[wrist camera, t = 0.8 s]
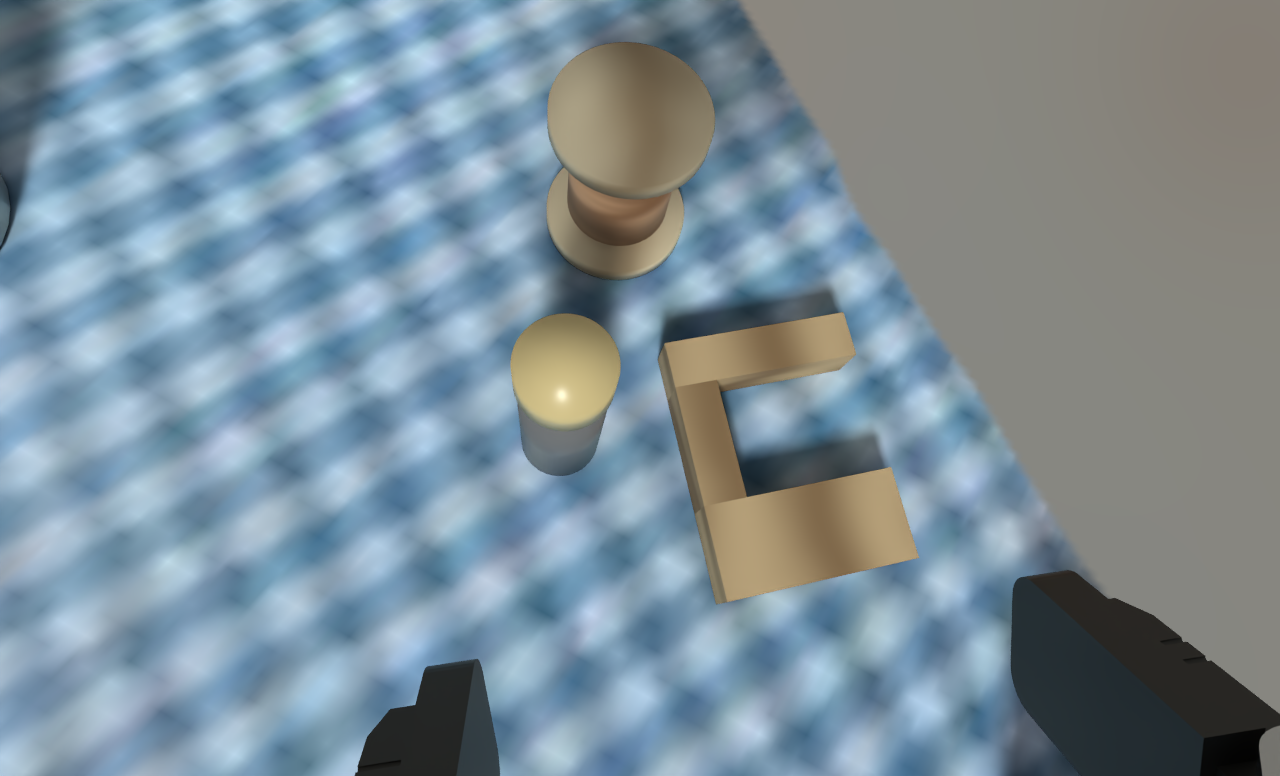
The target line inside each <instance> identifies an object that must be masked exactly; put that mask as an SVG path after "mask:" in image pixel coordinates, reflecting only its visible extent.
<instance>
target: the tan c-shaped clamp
mask: <svg viewBox="0 0 1280 776" xmlns="http://www.w3.org/2000/svg"><path fill="white" fill-rule="evenodd" d="M855 355H856V352H855V349H854V345H853V342H852V339H851V336H850V332H849V329H848V326H847V323H846V319H845V316H844V313H843V312H842V313H836V314H830V315H824V316H819V317H813V318H807V319H801V320H795V321H790V322H784V323H778V324H772V325H766V326H761V327H755V328H749V329H743V330H738V331H732V332H726V333H720V334H714V335H709V336H703V337H697V338H691V339H685V340H680V341H674V342H668V343H664V346H663V348H662V351H661V353H660V356H659V358H658V363H659V367H660V371H661V375H662V379H663V384H664V388H665V392H666V396H667V400H668V404H669V409H670V413H671V417H672V421H673V425H674V430H675V434H676V438H677V442H678V446H679V451H680V455H681V459H682V463H683V467H684V471H685V476H686V480H687V484H688V488H689V492H690V497H691V501H692V505H693V509H694V513H695V518H696V522H697V526H698V530H699V534H700V539H701V543H702V547H703V551H704V555H705V559H706V564H707V568H708V572H709V576H710V580H711V585H712V589H713V593H714V597H715V601H716V604H720V603H725V602H730V601H734V600H738V599H743V598H747V597H751V596H756V595H760V594H764V593H769V592H773V591H777V590H782V589H786V588H790V587H795V586H799V585H803V584H807V583H812V582H816V581H820V580H825V579H829V578H833V577H838V576H842V575H846V574H851V573H855V572H859V571H864V570H868V569H872V568H877V567H881V566H885V565H890V564H894V563H898V562H903V561H907V560H911V559H916V558H919V556H918V553H917V550H916V547H915V544H914V540H913V537H912V534H911V531H910V527H909V524H908V521H907V518H906V514H905V511H904V508H903V505H902V501H901V498H900V495H899V492H898V488H897V485H896V482H895V479H894V475H893V472H892V469H891V467H889V468H884V469H880V470H875V471H870V472H865V473H861V474H856V475H851V476H846V477H841V478H837V479H832V480H827V481H822V482H818V483H813V484H808V485H803V486H798V487H794V488H789V489H784V490H779V491H775V492H770V493H765V494H760V495H755V496H751V497H747V495H746V491H745V487H744V483H743V480H742V476H741V472H740V468H739V464H738V460H737V456H736V452H735V448H734V445H733V441H732V437H731V433H730V429H729V425H728V421H727V417H726V414H725V410H724V406H723V402H722V398H721V394H720V392H723V391H728V390H734V389H739V388H745V387H750V386H755V385H761V384H766V383H772V382H777V381H782V380H788V379H793V378H799V377H804V376H809V375H815V374H820V373H826V372H831V371H836V370H840V369H841V368H842V367H843V366H844V365H845V364H846V363H847V362H848V361H849V360H851V359H852V358H853V357H854V356H855Z"/></svg>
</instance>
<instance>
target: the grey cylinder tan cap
mask: <svg viewBox="0 0 1280 776" xmlns="http://www.w3.org/2000/svg"><path fill="white" fill-rule="evenodd" d="M511 374H512V383H513V391H514V395H515V398H516V400H517V403H518V412H519V421H520V431H521V440H522V447H523V451H524V453H525V455H526V457H527V459H528V460H529V461H530V463H531V464H532V465H533V466H534V467H536V468H537V469H538V470H540V471H542V472H544V473H546V474H550V475H555V476H565V475H570V474H573V473H575V472H578V471H579V470H581V469H582V468H584V467H585V466H586V465H587V464H588V463H589V462H590V460H591V459H592V457H593V456H594V454H595V451H596V448H597V445H598V441H599V437H600V434H601V430H602V426H603V423H604V419H605V416H606V412H607V409H608V408H609V406H610V404H611V402H612V400H613V397H614V394H615V390H616V387H617V383H618V379H619V376H620V356H619V352H618V349H617V347H616V344H615V342H614V341H613V339H612V337H611V336H610V335H609V334H608V332H607V331H606V330H605V329H604V328H603V327H602V326H600V325H599V324H597V323H596V322H594V321H593V320H591V319H589V318H586V317H584V316H580V315H576V314H565V313H562V314H554V315H550V316H547V317H544V318H541V319H539V320H537V321H536V322H534V323H533V324H531V325H530V326H529V327H528V328H527V329H525V330H524V332H523V333H522V334H521V335H520V337H519V338H518V340H517V342H516V344H515V346H514V348H513V352H512V356H511Z"/></svg>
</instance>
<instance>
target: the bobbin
mask: <svg viewBox="0 0 1280 776" xmlns="http://www.w3.org/2000/svg"><path fill="white" fill-rule="evenodd" d="M714 127H715V112H714V107H713V102H712V99H711V97H710V94H709V92H708V90H707V88H706V86H705V84H704V83H703V81H702V80H701V79H700V77H699V76H698V75H697V74H696V73H695V72H694V70H693V69H692V68H690V67H689V66H688V65H687V64H686V63H685V62H683V61H682V60H680V59H679V58H678V57H676V56H674V55H672V54H671V53H669V52H667V51H664V50H662V49H659V48H657V47H654V46H650V45H646V44H641V43H632V42H617V43H609V44H604V45H600V46H597V47H594V48H591V49H589V50H587V51H585V52H583V53H581V54H579V55H578V56H576V57H575V58H574V59H572V60H571V61H570V62H569V63H568V64H567V65H566V66H565V67H564V68H563V69H562V70H561V71H560V73H559V74H558V76H557V77H556V79H555V81H554V83H553V85H552V88H551V91H550V94H549V99H548V134H549V139H550V142H551V146H552V148H553V150H554V152H555V155H556V156H557V158H558V159H559V161H560V163H561V164H562V165H563V166H564V168H563V169H562V170H561V171H560V172H559V173H558V175H557V176H556V177H555V179H554V181H553V183H552V185H551V187H550V190H549V193H548V199H547V225H548V230H549V234H550V237H551V239H552V241H553V243H554V245H555V247H556V248H557V250H558V251H559V252H560V254H561V255H562V256H563V257H564V258H565V259H566V260H567V261H568V262H569V263H570V264H572V265H573V266H574V267H576V268H577V269H579V270H581V271H583V272H584V273H587V274H589V275H592V276H595V277H598V278H602V279H609V280H625V279H632V278H636V277H639V276H642V275H645V274H647V273H649V272H651V271H653V270H654V269H656V268H657V267H659V266H660V265H661V264H662V263H663V262H664V261H665V260H666V259H667V258H668V257H669V256H670V254H671V253H672V251H673V250H674V248H675V246H676V244H677V241H678V239H679V236H680V233H681V230H682V226H683V220H684V206H683V201H682V197H681V194H680V191H679V189H678V188H679V187H681V186H682V185H684V184H685V183H686V182H687V181H689V180H690V179H691V178H692V177H693V176H694V175H695V173H696V172H697V171H698V170H699V168H700V167H701V165H702V164H703V162H704V160H705V157H706V155H707V153H708V150H709V147H710V144H711V141H712V137H713V133H714Z"/></svg>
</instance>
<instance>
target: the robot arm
mask: <svg viewBox="0 0 1280 776" xmlns="http://www.w3.org/2000/svg"><path fill="white" fill-rule="evenodd" d="M9 215H10V201H9V194H8V189H7V187H6V185H5V182H4V180H3V178H2V176H1V174H0V246H1V244H2V241H3V239H4V236H5V233H6V231H7V228H8V224H9ZM1011 673H1012V679H1013V683H1014V686H1015V689H1016V692H1017V695H1018V697H1019V699H1020V701H1021V703H1022V705H1023V706H1024V708H1025V709H1026V711H1027V712H1028V713H1029V714H1030V716H1031V717H1032V718H1033V719H1034V720H1035V722H1036V723H1037V724H1038V725H1039V726H1040V728H1041V729H1042V730H1043V731H1044V732H1045V734H1046V735H1047V736H1048V737H1049V738H1050V740H1051V741H1052V742H1053V743H1054V744H1055V746H1056V747H1057V748H1058V749H1059V750H1060V752H1061V753H1062V754H1063V755H1064V756H1065V758H1066V759H1067V760H1068V761H1069V762H1070V764H1071V765H1072V766H1073V767H1074V768H1075V770H1076V771H1077V772H1078V773H1079V774H1080V775H1081V776H1280V714H1279V713H1278V712H1276V711H1275V710H1274V709H1272V708H1271V707H1270V706H1268V705H1267V704H1266V703H1265V702H1263V701H1262V700H1261V699H1260V698H1258V697H1257V696H1256V695H1255V694H1253V693H1252V692H1251V691H1249V690H1248V689H1247V688H1246V687H1244V686H1243V685H1242V684H1240V683H1239V682H1238V681H1237V680H1235V679H1234V678H1233V677H1231V676H1230V675H1229V674H1228V673H1226V672H1225V671H1224V670H1223V669H1221V668H1220V667H1219V666H1217V665H1216V664H1215V663H1214V662H1212V661H1207V660H1206V658H1205V655H1203V654H1202V653H1201V652H1200V651H1198V650H1197V649H1196V648H1194V647H1193V646H1192V645H1191V644H1189V643H1188V642H1183V641H1182V638H1181V637H1180V636H1179V635H1178V634H1176V633H1175V632H1174V631H1173V630H1171V629H1170V628H1169V627H1167V626H1166V625H1165V624H1164V623H1162V622H1161V621H1160V620H1158V619H1157V618H1156V617H1155V616H1154V615H1152V614H1149V613H1147V612H1145V611H1143V610H1141V609H1138V608H1136V607H1134V606H1131V605H1129V604H1127V603H1125V602H1123V601H1121V600H1118V599H1116V598H1112V599H1108V598H1106V597H1105V596H1104V595H1103V594H1101V593H1100V592H1099V591H1098V590H1096V589H1095V588H1094V587H1093V586H1092V585H1090V584H1089V583H1088V582H1087V581H1085V580H1084V579H1083V578H1082V577H1081V576H1079V575H1078V574H1077V573H1075V572H1073V571H1069V570H1066V571H1060V572H1053V573H1047V574H1040V575H1033V576H1027V577H1021V578H1019V579H1017V580H1016V582H1015V584H1014V587H1013V598H1012V637H1011ZM355 776H500V767H499V756H498V749H497V743H496V738H495V733H494V728H493V723H492V717H491V712H490V707H489V702H488V697H487V692H486V686H485V681H484V676H483V671H482V667H481V664H480V662H479V660H478V659H473V660H467V661H460V662H454V663H447V664H441V665H434V666H427V667H426V668H425V670H424V673H423V677H422V681H421V685H420V689H419V693H418V697H417V701H416V705H413V706H407V707H400V708H394V709H390V710H389V711H388V713H387V714H386V715H385V716H384V717H383V719H382V720H381V721H380V722H379V723H378V725H377V726H376V727H375V728H374V729H373V731H372V732H371V733H370V734H369V735H368V737H367V739H366V742H365V745H364V748H363V751H362V755H361V758H360V761H359V764H358V772H357V773H355Z"/></svg>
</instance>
